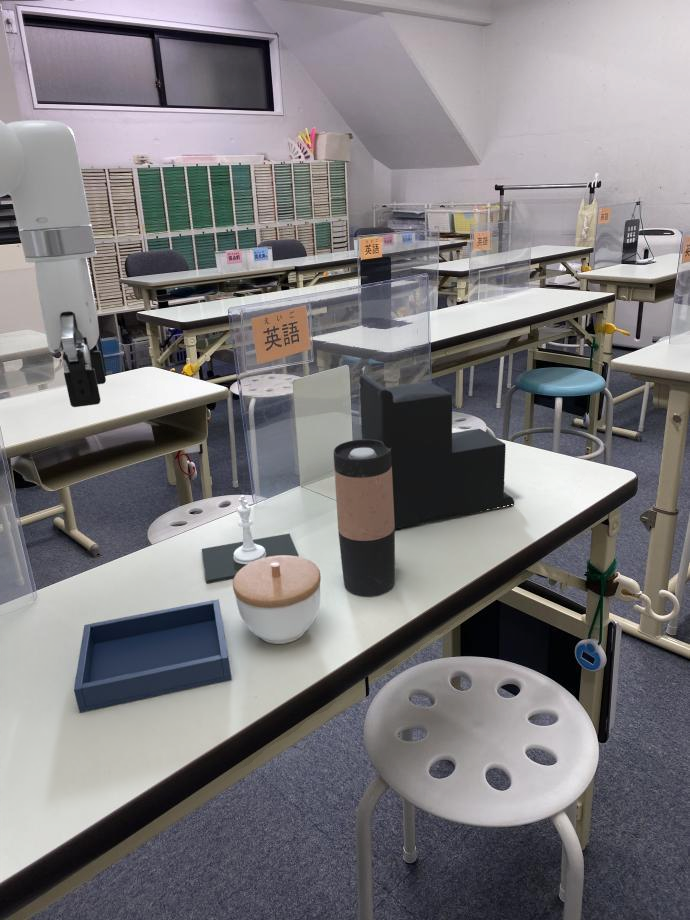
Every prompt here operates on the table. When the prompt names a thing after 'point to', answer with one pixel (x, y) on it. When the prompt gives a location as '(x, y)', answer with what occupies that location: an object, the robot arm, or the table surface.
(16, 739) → the table surface
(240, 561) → the chess piece
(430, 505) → the bookend
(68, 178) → the robot arm
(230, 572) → the mat
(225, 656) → the tray
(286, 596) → the trinket box
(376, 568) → the travel mug
